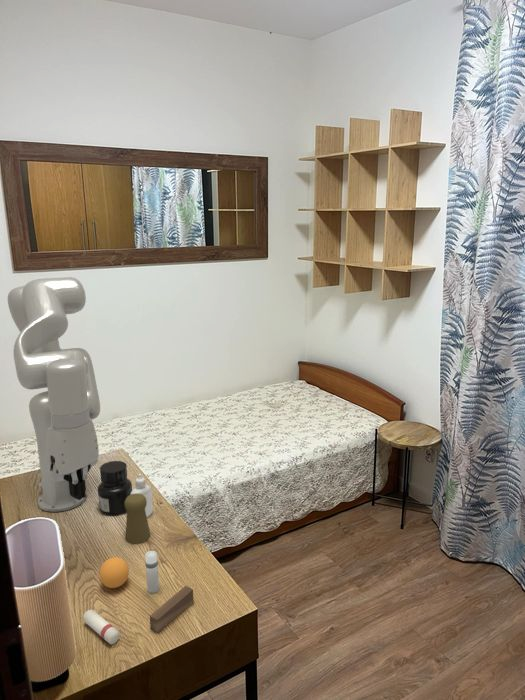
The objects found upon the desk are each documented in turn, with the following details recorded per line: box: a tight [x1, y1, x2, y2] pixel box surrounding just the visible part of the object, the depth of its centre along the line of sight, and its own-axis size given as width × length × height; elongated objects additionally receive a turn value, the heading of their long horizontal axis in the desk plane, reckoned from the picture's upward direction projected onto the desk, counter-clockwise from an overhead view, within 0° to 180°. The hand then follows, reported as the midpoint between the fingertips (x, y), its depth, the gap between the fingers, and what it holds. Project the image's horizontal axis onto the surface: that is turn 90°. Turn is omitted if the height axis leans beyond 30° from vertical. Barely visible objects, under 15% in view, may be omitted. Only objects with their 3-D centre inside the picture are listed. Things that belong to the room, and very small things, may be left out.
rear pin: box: [144, 550, 160, 594], centre depth 109 cm, size 2×2×8 cm
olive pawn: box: [124, 493, 151, 545], centre depth 126 cm, size 6×6×11 cm
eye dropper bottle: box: [130, 473, 154, 518], centre depth 135 cm, size 4×6×12 cm
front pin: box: [82, 608, 121, 645], centre depth 98 cm, size 2×2×8 cm
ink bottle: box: [97, 460, 133, 516], centre depth 139 cm, size 10×9×12 cm
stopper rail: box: [149, 585, 195, 634], centre depth 103 cm, size 2×10×3 cm, turn 145°
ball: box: [99, 556, 130, 589], centre depth 111 cm, size 6×6×6 cm
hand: (78, 496), depth 113 cm, fingers closed
